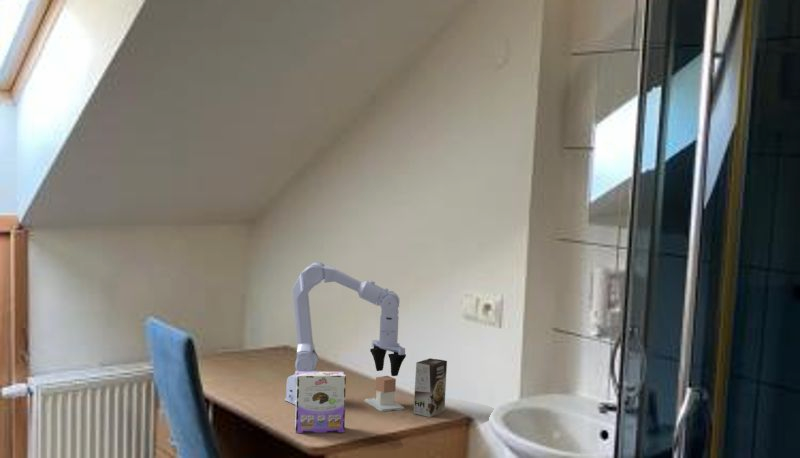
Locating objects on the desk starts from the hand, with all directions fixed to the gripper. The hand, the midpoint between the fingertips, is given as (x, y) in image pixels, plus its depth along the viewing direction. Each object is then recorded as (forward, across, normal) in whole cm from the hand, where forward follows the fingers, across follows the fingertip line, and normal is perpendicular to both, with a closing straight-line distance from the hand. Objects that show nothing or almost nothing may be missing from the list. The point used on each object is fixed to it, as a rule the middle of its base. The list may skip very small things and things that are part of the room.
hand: (386, 373), depth 268 cm
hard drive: (+12, 0, 0) cm, 12 cm away
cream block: (+10, 0, 0) cm, 10 cm away
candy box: (+11, -10, +32) cm, 35 cm away
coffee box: (+11, -13, -7) cm, 18 cm away
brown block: (+6, 0, 0) cm, 6 cm away
